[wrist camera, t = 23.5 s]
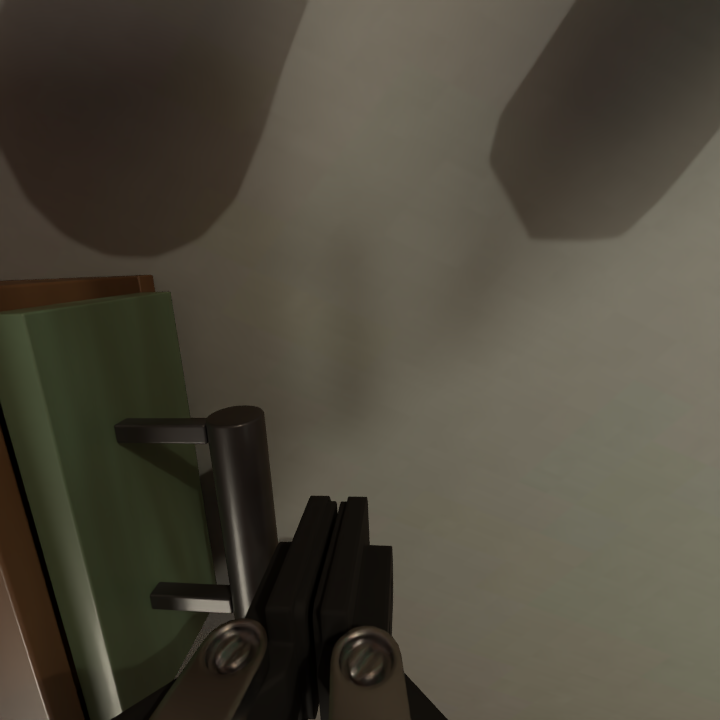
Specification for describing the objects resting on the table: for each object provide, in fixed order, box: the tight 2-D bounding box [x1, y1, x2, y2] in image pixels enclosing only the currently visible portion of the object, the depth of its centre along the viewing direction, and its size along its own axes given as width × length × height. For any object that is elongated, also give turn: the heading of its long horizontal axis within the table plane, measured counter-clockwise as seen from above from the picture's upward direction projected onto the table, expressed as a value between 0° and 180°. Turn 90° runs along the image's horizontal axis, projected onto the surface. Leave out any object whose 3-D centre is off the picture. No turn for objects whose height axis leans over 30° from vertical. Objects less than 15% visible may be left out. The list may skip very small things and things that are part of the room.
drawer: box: [0, 292, 278, 720], centre depth 14 cm, size 19×14×6 cm
